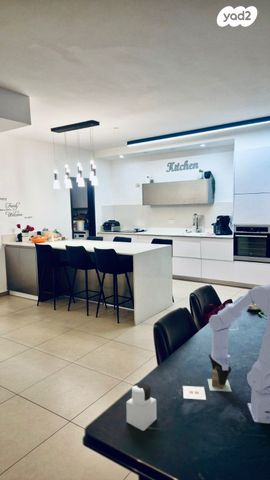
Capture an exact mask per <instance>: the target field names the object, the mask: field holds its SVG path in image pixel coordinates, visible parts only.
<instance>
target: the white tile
mask: <svg viewBox="0 0 270 480" xmlns="http://www.w3.org/2000/svg"><path fill="white" fill-rule="evenodd" d="M182 392H183V395H182V396H183V399H186V400H187V399H188V400H189V399H191V400H204V401H205V400H207V396H206V391H205V387H204V386H192V385H191V386H190V385H182Z"/></svg>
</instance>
